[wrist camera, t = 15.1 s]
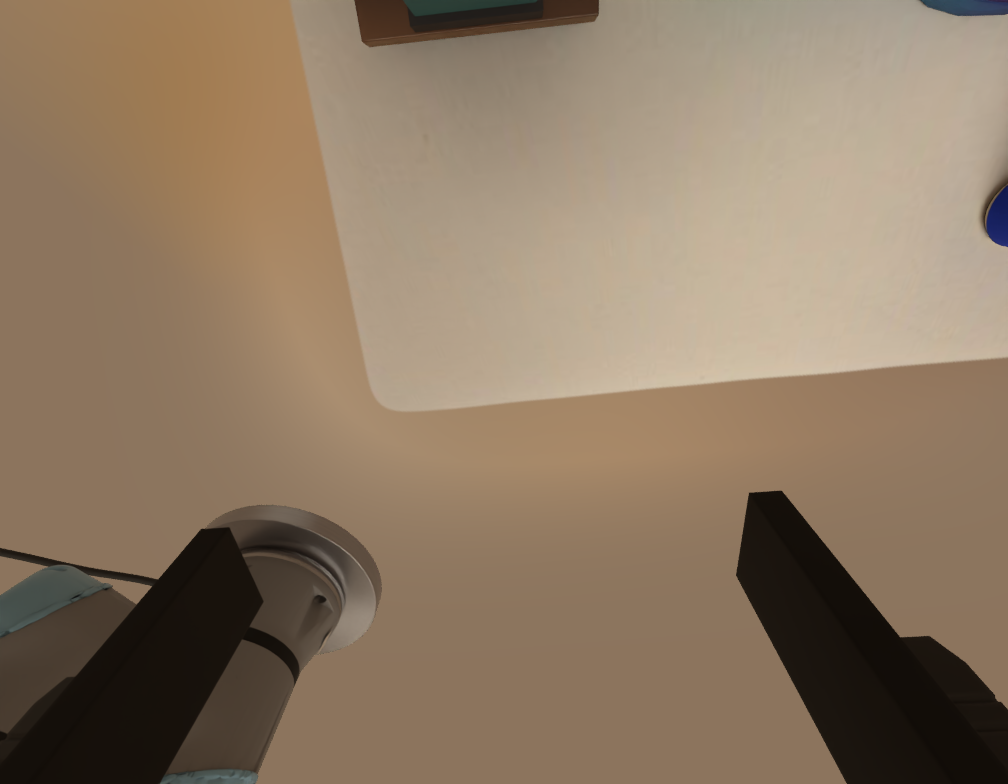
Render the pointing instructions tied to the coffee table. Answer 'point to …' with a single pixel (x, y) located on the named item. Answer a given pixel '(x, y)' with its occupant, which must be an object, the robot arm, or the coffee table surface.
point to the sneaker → (969, 7)
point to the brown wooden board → (390, 25)
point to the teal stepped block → (469, 12)
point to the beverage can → (998, 218)
